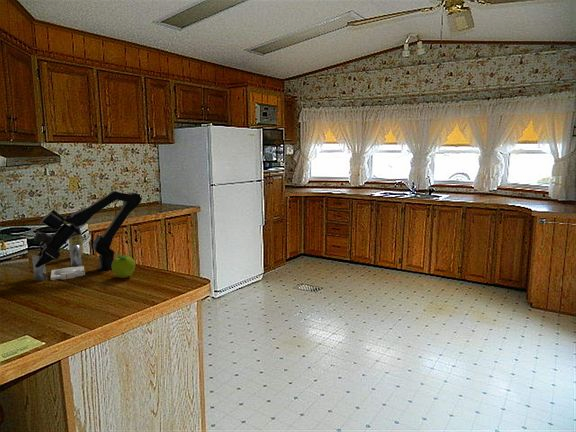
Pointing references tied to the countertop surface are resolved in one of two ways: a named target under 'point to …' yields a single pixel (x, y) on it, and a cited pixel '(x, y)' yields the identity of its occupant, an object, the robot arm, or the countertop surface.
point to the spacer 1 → (39, 270)
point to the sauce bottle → (76, 240)
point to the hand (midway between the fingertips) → (35, 265)
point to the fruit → (123, 266)
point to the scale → (67, 273)
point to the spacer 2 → (75, 255)
